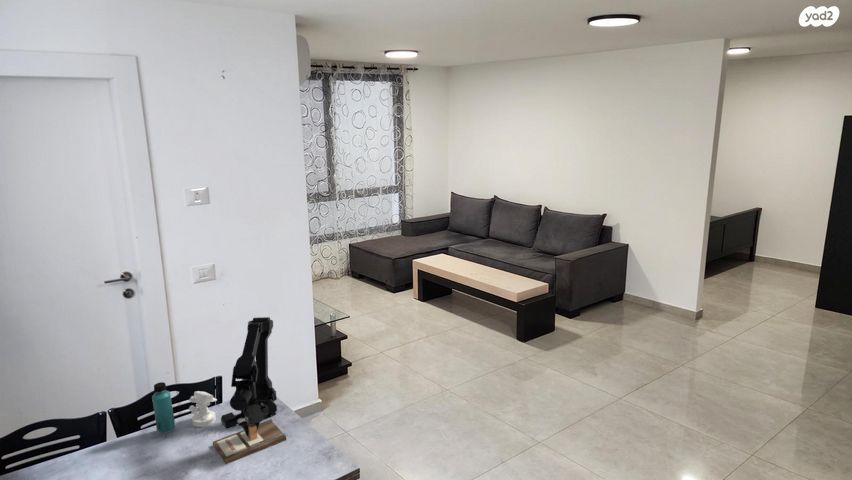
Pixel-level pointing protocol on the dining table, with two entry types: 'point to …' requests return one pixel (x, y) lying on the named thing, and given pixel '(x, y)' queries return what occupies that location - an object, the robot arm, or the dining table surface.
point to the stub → (251, 435)
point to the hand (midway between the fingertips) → (251, 434)
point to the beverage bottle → (163, 408)
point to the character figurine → (202, 409)
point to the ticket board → (238, 447)
